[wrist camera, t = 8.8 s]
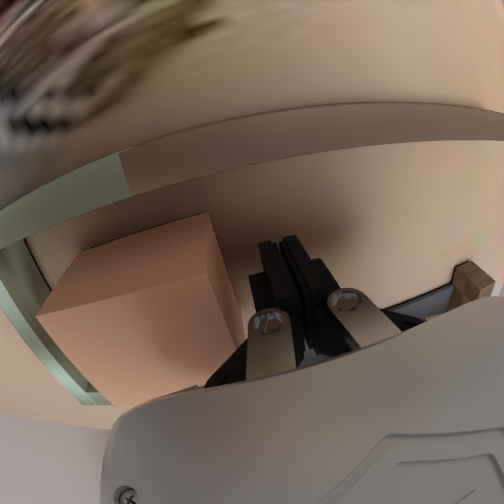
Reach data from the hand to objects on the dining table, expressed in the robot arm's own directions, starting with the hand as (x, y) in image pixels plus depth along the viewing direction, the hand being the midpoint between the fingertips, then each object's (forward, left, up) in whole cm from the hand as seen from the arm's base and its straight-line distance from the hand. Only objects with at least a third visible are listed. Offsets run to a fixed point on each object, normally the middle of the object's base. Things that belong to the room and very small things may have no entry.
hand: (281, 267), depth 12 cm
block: (0, -6, -1) cm, 6 cm away
